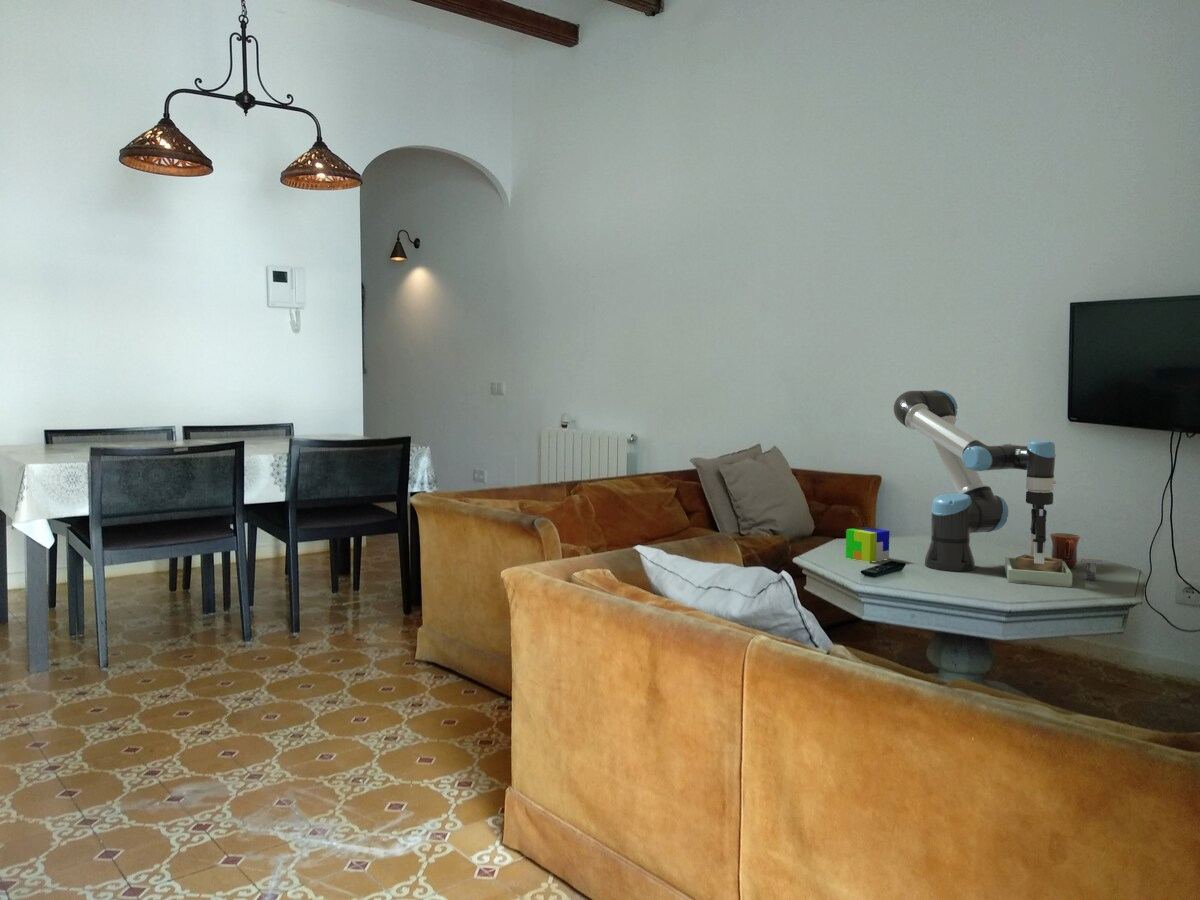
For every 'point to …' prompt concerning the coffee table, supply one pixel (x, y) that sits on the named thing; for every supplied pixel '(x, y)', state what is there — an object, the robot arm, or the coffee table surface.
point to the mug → (1065, 548)
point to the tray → (1037, 575)
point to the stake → (1091, 567)
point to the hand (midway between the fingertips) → (1037, 559)
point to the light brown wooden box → (1028, 564)
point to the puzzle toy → (867, 544)
